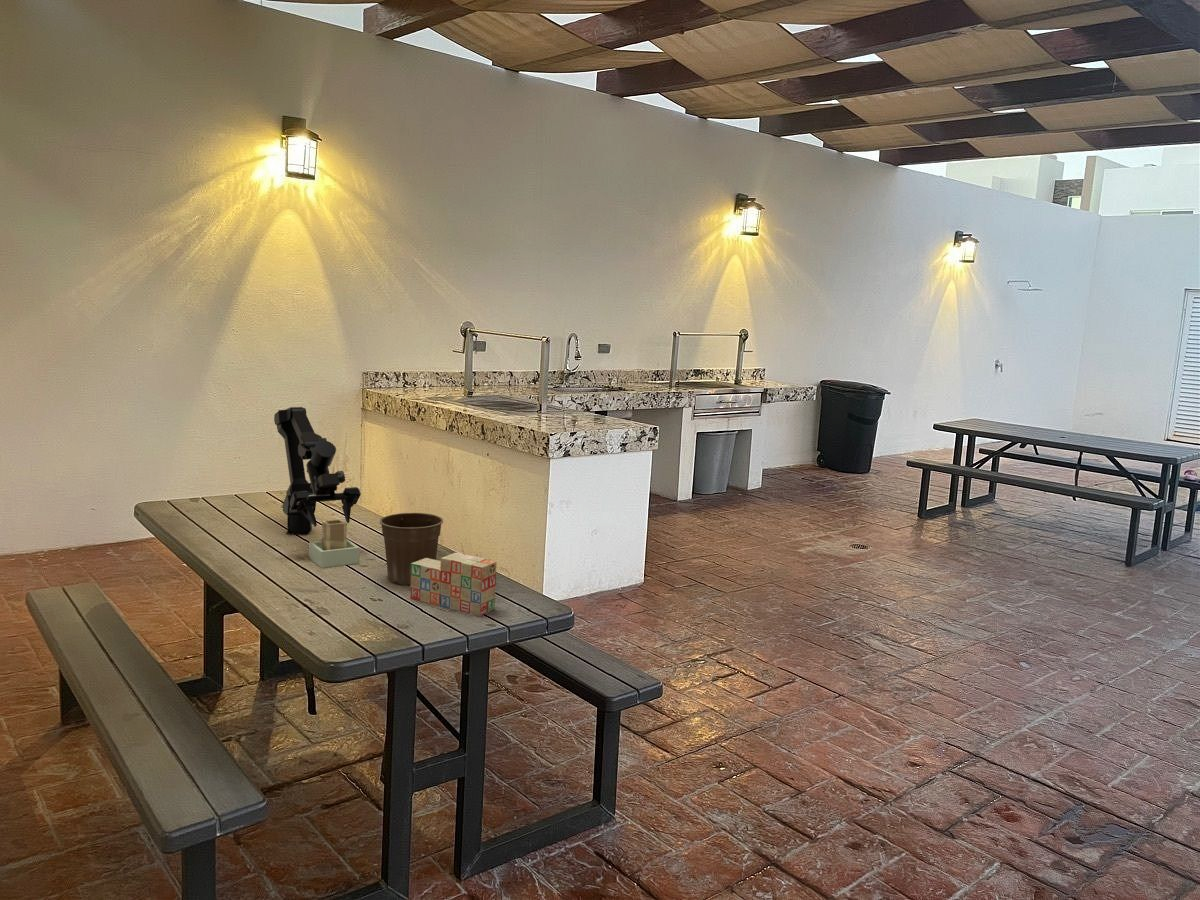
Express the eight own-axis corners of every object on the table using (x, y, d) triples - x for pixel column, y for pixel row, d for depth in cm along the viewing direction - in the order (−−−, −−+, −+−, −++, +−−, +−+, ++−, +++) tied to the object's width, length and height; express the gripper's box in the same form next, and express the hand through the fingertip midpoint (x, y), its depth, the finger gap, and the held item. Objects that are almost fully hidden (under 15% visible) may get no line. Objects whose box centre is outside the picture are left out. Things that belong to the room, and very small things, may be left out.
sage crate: (309, 557, 257) (309, 542, 256) (346, 553, 263) (346, 538, 262) (321, 567, 248) (321, 551, 247) (359, 563, 254) (359, 547, 253)
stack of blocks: (409, 599, 227) (410, 551, 225) (425, 592, 233) (426, 545, 231) (480, 616, 217) (482, 566, 215) (495, 609, 223) (497, 560, 221)
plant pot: (387, 591, 232) (388, 529, 229) (372, 573, 246) (373, 514, 243) (449, 585, 239) (451, 524, 237) (431, 567, 254) (432, 510, 251)
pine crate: (321, 556, 255) (322, 521, 254) (341, 553, 259) (341, 519, 257) (327, 560, 252) (327, 524, 250) (346, 558, 255) (346, 523, 253)
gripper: (292, 463, 251) (304, 511, 244) (359, 459, 262) (372, 505, 255) (284, 485, 259) (296, 532, 252) (349, 480, 270) (361, 526, 263)
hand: (332, 523), depth 255 cm, fingers open, 9 cm apart
